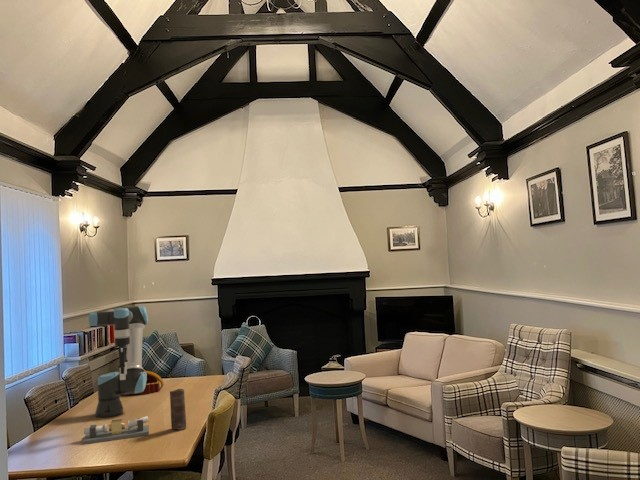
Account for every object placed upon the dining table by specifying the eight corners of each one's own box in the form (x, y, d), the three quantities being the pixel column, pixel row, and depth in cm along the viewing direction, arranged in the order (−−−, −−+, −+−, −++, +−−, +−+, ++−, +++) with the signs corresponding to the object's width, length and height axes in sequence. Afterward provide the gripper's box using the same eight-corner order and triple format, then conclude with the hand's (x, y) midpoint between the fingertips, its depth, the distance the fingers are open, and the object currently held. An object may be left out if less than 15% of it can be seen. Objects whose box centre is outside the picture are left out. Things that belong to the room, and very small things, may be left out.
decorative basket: (105, 400, 342) (103, 378, 340) (124, 383, 371) (122, 363, 369) (154, 399, 340) (153, 377, 338) (170, 382, 369) (168, 362, 367)
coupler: (109, 435, 252) (108, 422, 252) (109, 432, 256) (109, 420, 257) (124, 433, 254) (124, 420, 255) (125, 430, 258) (124, 418, 259)
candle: (172, 432, 257) (171, 391, 258) (169, 428, 263) (168, 389, 265) (187, 429, 260) (186, 389, 262) (184, 425, 267) (183, 386, 268)
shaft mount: (83, 444, 245) (82, 427, 245) (86, 436, 256) (85, 420, 257) (149, 434, 254) (148, 418, 255) (149, 428, 266) (148, 412, 266)
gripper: (128, 339, 263) (129, 381, 262) (130, 333, 286) (131, 371, 286) (112, 341, 260) (114, 383, 260) (116, 334, 284) (117, 373, 283)
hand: (123, 377), depth 273 cm, fingers open, 13 cm apart
